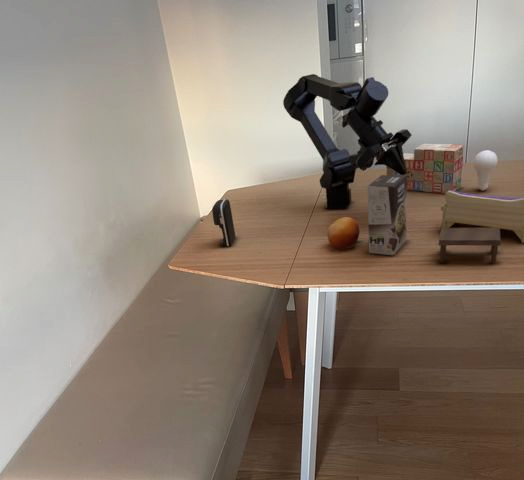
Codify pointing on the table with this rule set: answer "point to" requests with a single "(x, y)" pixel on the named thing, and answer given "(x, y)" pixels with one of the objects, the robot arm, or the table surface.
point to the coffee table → (469, 239)
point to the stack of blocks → (433, 168)
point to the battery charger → (224, 221)
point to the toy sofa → (484, 211)
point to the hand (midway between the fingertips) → (405, 174)
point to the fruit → (343, 233)
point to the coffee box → (387, 214)
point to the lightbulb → (485, 167)
